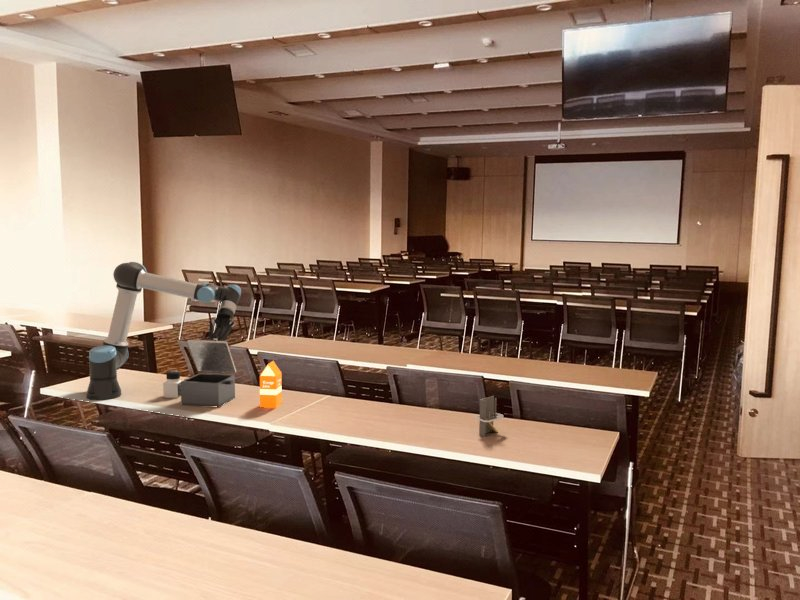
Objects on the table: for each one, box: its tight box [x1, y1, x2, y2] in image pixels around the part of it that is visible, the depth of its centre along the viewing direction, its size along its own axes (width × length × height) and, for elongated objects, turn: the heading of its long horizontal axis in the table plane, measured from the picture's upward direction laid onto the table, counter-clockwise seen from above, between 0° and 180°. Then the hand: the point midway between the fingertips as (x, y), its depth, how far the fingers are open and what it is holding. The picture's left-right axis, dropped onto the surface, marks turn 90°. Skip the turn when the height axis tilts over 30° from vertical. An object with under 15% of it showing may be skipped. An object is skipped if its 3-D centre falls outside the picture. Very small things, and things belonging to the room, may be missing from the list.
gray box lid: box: [186, 338, 237, 375], centre depth 299 cm, size 20×19×3 cm
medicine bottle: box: [162, 370, 184, 399], centre depth 305 cm, size 7×7×12 cm
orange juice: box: [259, 360, 283, 409], centre depth 290 cm, size 8×9×20 cm
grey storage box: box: [180, 373, 236, 408], centre depth 295 cm, size 18×23×11 cm
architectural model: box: [476, 395, 504, 437], centre depth 251 cm, size 20×25×15 cm
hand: (212, 351), depth 298 cm, fingers closed
